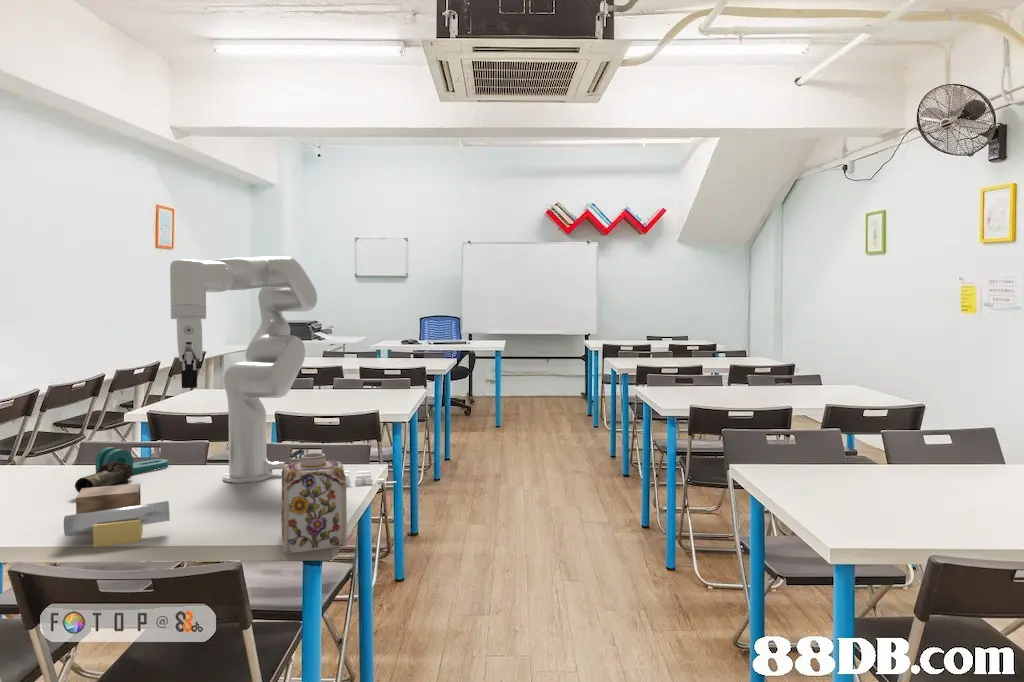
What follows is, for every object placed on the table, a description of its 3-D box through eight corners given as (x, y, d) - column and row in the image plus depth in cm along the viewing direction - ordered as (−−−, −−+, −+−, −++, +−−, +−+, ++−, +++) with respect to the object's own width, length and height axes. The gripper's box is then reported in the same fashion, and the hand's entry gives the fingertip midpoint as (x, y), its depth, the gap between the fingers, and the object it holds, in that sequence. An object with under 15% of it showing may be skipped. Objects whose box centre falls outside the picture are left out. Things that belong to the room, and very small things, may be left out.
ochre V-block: (142, 532, 142) (142, 511, 142) (140, 543, 136) (140, 520, 135) (98, 537, 139) (97, 515, 138) (93, 548, 132) (93, 525, 132)
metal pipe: (93, 496, 167) (94, 473, 167) (67, 495, 167) (67, 472, 167) (137, 480, 185) (137, 459, 185) (113, 479, 185) (113, 458, 185)
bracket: (107, 481, 185) (107, 452, 185) (95, 477, 189) (95, 449, 188) (172, 468, 200) (172, 442, 199) (160, 465, 204) (160, 439, 203)
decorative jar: (347, 551, 132) (347, 458, 131) (283, 558, 128) (283, 463, 127) (340, 532, 143) (339, 446, 142) (281, 538, 139) (280, 450, 138)
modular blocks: (327, 492, 176) (327, 477, 176) (327, 485, 183) (327, 471, 182) (404, 488, 181) (405, 473, 180) (402, 482, 187) (402, 467, 187)
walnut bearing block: (140, 519, 151) (140, 483, 151) (138, 529, 144) (137, 492, 143) (82, 525, 146) (81, 488, 146) (76, 536, 139) (75, 497, 139)
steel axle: (170, 517, 143) (168, 498, 142) (169, 523, 139) (168, 503, 139) (68, 533, 135) (66, 513, 135) (64, 539, 131) (63, 519, 131)
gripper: (206, 313, 154) (207, 389, 155) (205, 312, 170) (206, 381, 171) (169, 313, 151) (170, 390, 152) (171, 312, 167) (172, 382, 168)
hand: (189, 385), depth 161 cm, fingers open, 9 cm apart
